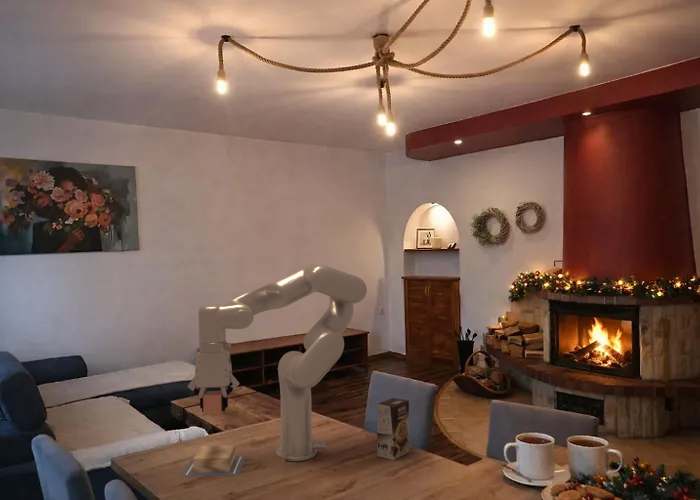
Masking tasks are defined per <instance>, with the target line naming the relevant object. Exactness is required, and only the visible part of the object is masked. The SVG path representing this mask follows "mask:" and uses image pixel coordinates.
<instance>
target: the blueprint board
mask: <svg viewBox="0 0 700 500" xmlns="http://www.w3.org/2000/svg"><path fill="white" fill-rule="evenodd" d="M193 458H194V457H192V458H191V460H190V461H189V462H188V464H187V465H186V467H185V469H184V470H183V472H182V473H181V475H180V477H206V476H207V477H209V476H237V475H238V476H239V475H240V473H241V470H242V468H243V465H244V463H245V460H246V458H247V455H238V456H237V455H235V460H234V462H233V465H232V467H231V469H230V471H229V472H212V473H193Z"/></svg>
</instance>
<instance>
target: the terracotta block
mask: <svg viewBox="0 0 700 500" xmlns="http://www.w3.org/2000/svg"><path fill="white" fill-rule="evenodd" d="M222 395H223V394H222V391H221V390H210V391H209V390H206V391H205V394H204V395H203V412H202V413H203V416H215V415H216V416H217V415H222V414H223V413H224V411H222Z"/></svg>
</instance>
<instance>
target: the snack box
mask: <svg viewBox="0 0 700 500" xmlns="http://www.w3.org/2000/svg"><path fill="white" fill-rule="evenodd" d="M409 404H410V401H409V400H407V399H402V398H393V397H391V398H389V399H386V400H384V401H381V402H378V403H377V404H376V407H377V408H376V411H377V412H376V419H377V423H376V426H377V429H376V430H377V432H376V435H377V437H376V438H377V441H376V444H377V445H376V446H377V447H376V448H377V450H376V451H377V453H376V454H377V457H381V458H383V459H388V460H390V461H395V460H397V459H399V458H401V457H402V456H404V455H406V454H408V453H409V452H410V405H409Z"/></svg>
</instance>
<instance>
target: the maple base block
mask: <svg viewBox="0 0 700 500" xmlns="http://www.w3.org/2000/svg"><path fill="white" fill-rule="evenodd" d="M235 456H236V445H235V444H233V445H231V444H230V445H201V446H200V448H199V449H198V450H197V452H196V454H195V455H194V458H193V457H192V458H193V473H212V472H229V471H230V469H231V467H232V465H233V462H234V460H235Z"/></svg>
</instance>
